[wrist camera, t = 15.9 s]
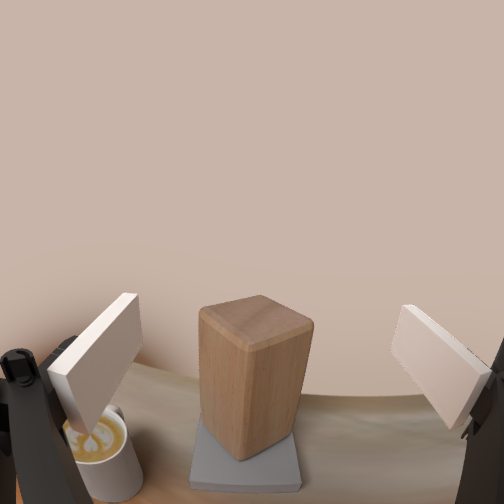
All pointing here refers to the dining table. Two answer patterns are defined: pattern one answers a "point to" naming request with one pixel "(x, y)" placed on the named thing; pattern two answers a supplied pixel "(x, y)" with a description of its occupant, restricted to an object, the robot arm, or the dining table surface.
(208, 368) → the block
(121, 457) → the coffee mug
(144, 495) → the dining table surface
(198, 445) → the stand
